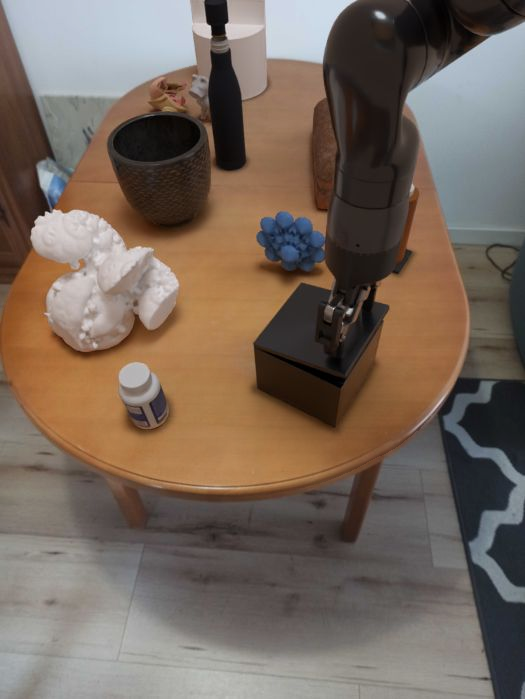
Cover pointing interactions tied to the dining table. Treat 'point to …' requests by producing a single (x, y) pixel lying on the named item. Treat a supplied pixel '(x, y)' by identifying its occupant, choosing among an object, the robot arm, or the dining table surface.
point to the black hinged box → (313, 382)
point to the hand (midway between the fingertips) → (348, 330)
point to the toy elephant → (166, 95)
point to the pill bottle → (142, 396)
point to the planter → (162, 166)
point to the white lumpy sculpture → (100, 281)
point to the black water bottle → (224, 92)
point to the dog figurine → (200, 93)
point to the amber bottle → (408, 222)
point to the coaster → (400, 265)
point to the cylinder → (236, 43)
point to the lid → (300, 325)
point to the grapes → (291, 241)
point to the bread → (323, 153)
